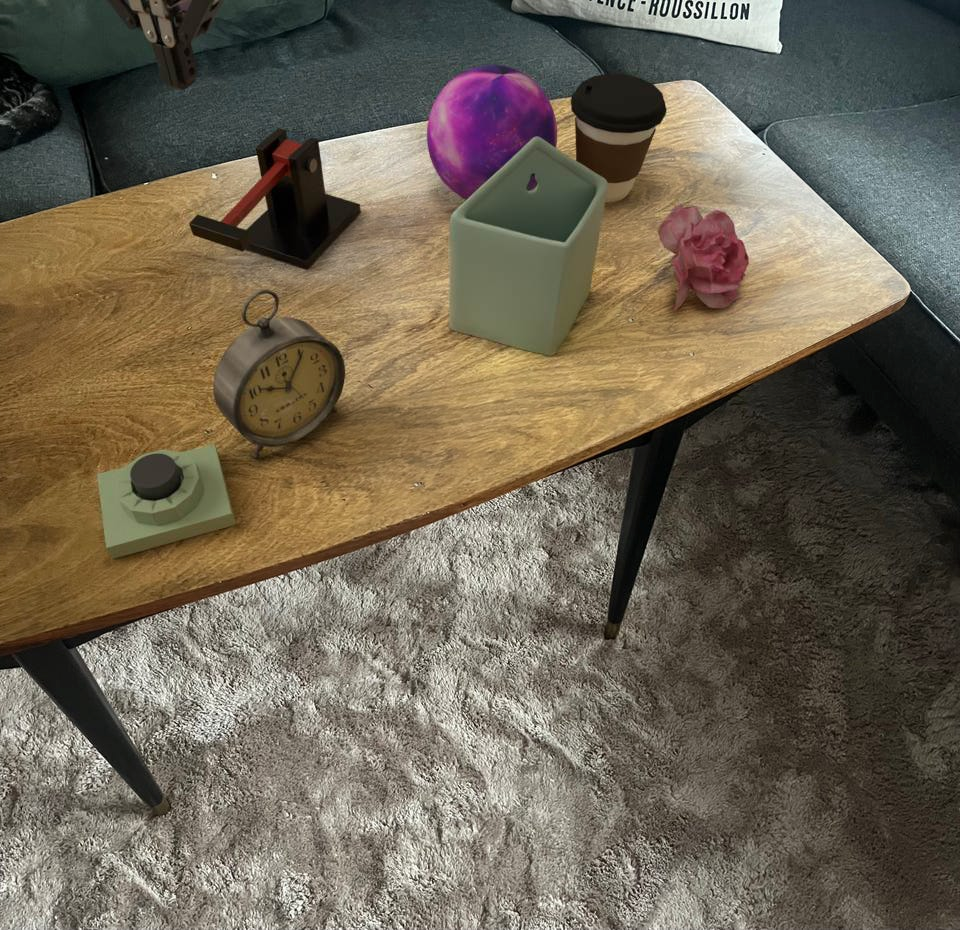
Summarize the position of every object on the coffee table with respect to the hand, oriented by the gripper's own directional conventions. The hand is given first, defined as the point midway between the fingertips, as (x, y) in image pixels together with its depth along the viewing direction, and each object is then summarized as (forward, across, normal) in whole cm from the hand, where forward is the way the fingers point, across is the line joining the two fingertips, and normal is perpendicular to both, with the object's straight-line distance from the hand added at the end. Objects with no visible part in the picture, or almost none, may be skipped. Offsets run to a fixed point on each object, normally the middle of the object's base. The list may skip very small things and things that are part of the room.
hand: (182, 84), depth 70 cm
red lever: (+16, 0, +7) cm, 17 cm away
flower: (+23, +44, +24) cm, 55 cm away
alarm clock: (+23, +15, -14) cm, 31 cm away
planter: (+23, +31, +9) cm, 40 cm away
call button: (+20, +11, -25) cm, 34 cm away
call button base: (+23, +11, -25) cm, 36 cm away
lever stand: (+23, 0, +13) cm, 26 cm away
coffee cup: (+23, +29, +37) cm, 52 cm away
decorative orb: (+23, +17, +29) cm, 41 cm away
